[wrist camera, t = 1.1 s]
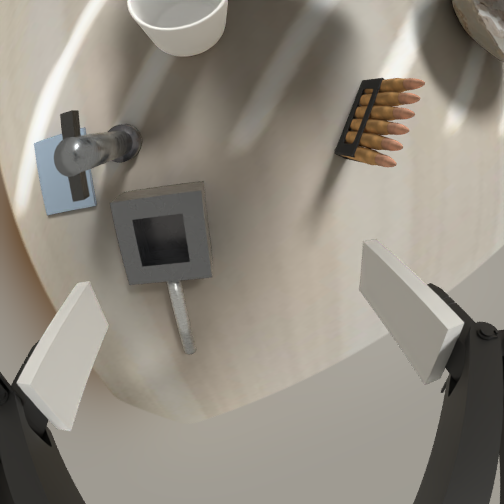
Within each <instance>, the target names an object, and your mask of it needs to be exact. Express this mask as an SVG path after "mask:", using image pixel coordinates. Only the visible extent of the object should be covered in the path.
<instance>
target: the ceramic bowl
mask: <svg viewBox="0 0 504 504" xmlns="http://www.w3.org/2000/svg"><path fill="white" fill-rule="evenodd" d="M452 4H453V8H454V11H455V13H456V15H457V17H458V19H459V22H460V23H461V25H462V27H463V28H464V30H465V31H466V32H467V33H468V34H469V35H470V36H471V37H472V38H473V39H474V40H475V41H476V42H477V43H478V44H479V45H480V46H481V47H483V48H484V49H485V50H486V51H488V52H489V53H490V54H491V55H493V56H494V57H496V58H497V59H499V60H500V61H502V62H504V0H452Z"/></svg>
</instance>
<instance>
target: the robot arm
mask: <svg viewBox="0 0 504 504" xmlns="http://www.w3.org/2000/svg"><path fill="white" fill-rule="evenodd" d="M359 290H360V292H361V293H362V295H363V296H364V297H365V299H366V300H367V301H368V303H369V304H370V306H371V307H372V308H373V310H374V311H375V312H376V314H377V315H378V317H379V318H380V320H381V321H382V322H383V324H384V325H385V327H386V328H387V329H388V331H389V332H390V334H391V335H392V337H393V338H394V340H395V341H396V342H397V344H398V345H399V347H400V348H401V350H402V351H403V353H404V354H405V356H406V357H407V359H408V360H409V362H410V363H411V365H412V366H413V368H414V370H415V371H416V373H417V374H418V376H419V377H420V379H421V380H422V382H423V383H424V385H426V384H429V383H431V382H433V381H436V380H438V379H440V378H441V376H442V373H443V372H444V369H445V368H446V369H447V370H448V372H449V373H450V374H449V376H448V378H447V380H446V382H445V384H444V386H443V388H442V390H441V393H443V392H444V390H445V388H446V390H445V396H444V401H443V406H442V411H441V416H440V421H439V425H438V429H437V433H436V437H435V441H434V445H433V448H432V452H431V455H430V458H429V462H428V465H427V468H426V471H425V474H424V477H423V480H422V483H421V485H420V488H419V491H418V493H417V496H416V499H415V501H414V503H413V504H489V502H490V498H491V493H492V489H493V485H494V480H495V475H496V470H497V464H498V457H500V504H504V330H499V331H498V330H497V329H496V328H495V327H494V326H492V325H491V324H489V323H486V322H477V323H475V322H474V321H473V320H472V319H471V318H470V317H469V316H468V315H467V313H466V312H465V311H464V310H463V309H461V307H460V306H459V305H457V303H455V302H454V301H453V300H452V299H451V298H450V297H449V296H448V295H447V294H446V293H445V292H444V291H443V290H442V289H441V288H439V287H437V286H435V285H433V284H431V283H430V284H426V283H425V282H424V281H423V280H422V279H420V278H419V277H418V276H417V275H416V274H415V273H414V272H413V271H412V270H411V269H410V268H409V267H408V266H407V265H405V264H404V263H403V262H402V261H401V260H400V259H399V258H398V257H397V256H396V255H394V254H393V253H392V252H391V251H390V250H389V249H388V248H387V247H385V246H384V245H383V244H382V243H381V242H380V241H379V240H377V239H374V240H367V241H363V250H362V264H361V276H360V287H359ZM108 327H109V325H108V323H107V321H106V318H105V316H104V314H103V312H102V309H101V307H100V305H99V303H98V300H97V298H96V295H95V293H94V291H93V288H92V286H91V283H90V281H87V282H80V283H77V284H76V286H75V287H74V288H73V290H72V291H71V293H70V294H69V296H68V297H67V299H66V300H65V302H64V303H63V305H62V306H61V308H60V309H59V311H58V312H57V314H56V315H55V317H54V318H53V320H52V322H51V323H50V325H49V326H48V328H47V329H46V331H45V333H44V334H43V336H42V338H41V339H40V340H39V341H38V342H37V343H36V344H35V345H34V346H33V347H32V349H31V350H30V352H29V354H28V357H26V359H25V361H24V364H22V366H21V368H20V370H19V372H18V373H17V375H16V377H15V379H14V381H13V383H12V385H11V386H10V384H9V383H8V382H7V380H6V379H5V378H4V376H3V375H2V374H1V372H0V504H85V502H84V500H83V498H82V497H81V495H80V493H79V491H78V489H77V488H76V486H75V484H74V482H73V480H72V479H71V476H70V474H69V472H68V470H67V468H66V466H65V464H64V462H63V459H62V457H61V455H60V453H59V450H58V448H57V446H56V443H55V441H54V438H53V436H52V433H51V431H50V430H49V428H48V427H47V423H48V420H49V421H50V422H51V423H52V424H53V425H54V427H56V429H61V430H67V431H71V429H72V426H73V422H74V419H75V416H76V413H77V410H78V407H79V404H80V401H81V398H82V395H83V392H84V389H85V386H86V383H87V380H88V378H89V375H90V372H91V369H92V367H93V364H94V362H95V359H96V356H97V354H98V351H99V349H100V346H101V344H102V341H103V339H104V336H105V334H106V332H107V329H108Z"/></svg>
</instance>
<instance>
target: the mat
mask: <svg viewBox="0 0 504 504" xmlns="http://www.w3.org/2000/svg"><path fill="white" fill-rule="evenodd" d="M80 134H81V135H86V130H85V127H84V128H80ZM62 140H63V137H62V134H60V135H57V136H54V137H51V138H48V139H45V140H42V141H39V142H36V143H34V147H35V154H36V161H37V168H38V174H39V179H40V185H41V190H42V195H43V200H44V204H45V209H46V213H47V215H51V214H56V213H60V212H65V211H71V210H76V209H81V208H87V207H92V206H96V205H97V202H96V197H95V192H94V187H93V181H92V175H91V169H89V170H87V171H86V177H87V183H88V188H89V194H90V196H89V197H88V198H86V199H85V200H80V201H75V202H73V200H72V195H71V190H70V184H69V179H68V177H67V176H64V175H62V174H61V173H59V171H58V170H57V169H56V167H55V164H54V152H55V149H56V147H57V145H58V144H59V143H60V142H61V141H62Z"/></svg>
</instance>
